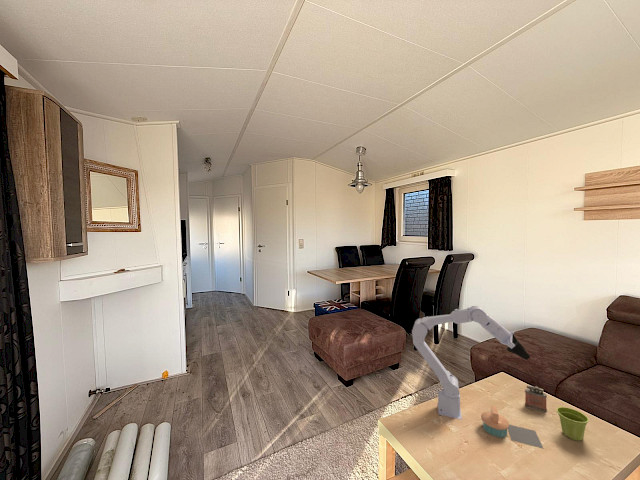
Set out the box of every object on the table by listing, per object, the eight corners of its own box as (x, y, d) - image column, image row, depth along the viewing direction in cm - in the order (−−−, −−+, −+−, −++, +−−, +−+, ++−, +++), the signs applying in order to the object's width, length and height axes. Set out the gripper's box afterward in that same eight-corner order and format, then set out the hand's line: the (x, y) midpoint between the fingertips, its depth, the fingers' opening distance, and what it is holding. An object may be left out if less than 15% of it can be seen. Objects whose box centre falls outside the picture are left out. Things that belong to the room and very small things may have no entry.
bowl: (484, 434, 107) (484, 424, 107) (482, 422, 114) (482, 412, 114) (508, 440, 104) (508, 430, 104) (504, 427, 111) (504, 418, 111)
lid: (482, 425, 107) (482, 414, 107) (479, 411, 115) (479, 400, 115) (511, 432, 103) (511, 420, 103) (506, 417, 111) (505, 406, 111)
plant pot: (563, 441, 103) (563, 419, 103) (552, 424, 112) (552, 404, 112) (594, 447, 100) (594, 424, 100) (580, 430, 109) (580, 409, 109)
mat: (511, 441, 103) (511, 440, 103) (506, 425, 112) (506, 423, 112) (543, 450, 99) (543, 448, 99) (535, 432, 108) (535, 430, 108)
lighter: (546, 408, 122) (546, 387, 122) (547, 413, 119) (547, 391, 119) (524, 403, 127) (524, 382, 127) (525, 407, 124) (525, 386, 124)
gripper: (506, 328, 105) (539, 355, 100) (499, 318, 118) (528, 341, 114) (493, 340, 107) (524, 366, 103) (487, 328, 120) (515, 351, 116)
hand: (525, 354), depth 108 cm, fingers open, 7 cm apart
